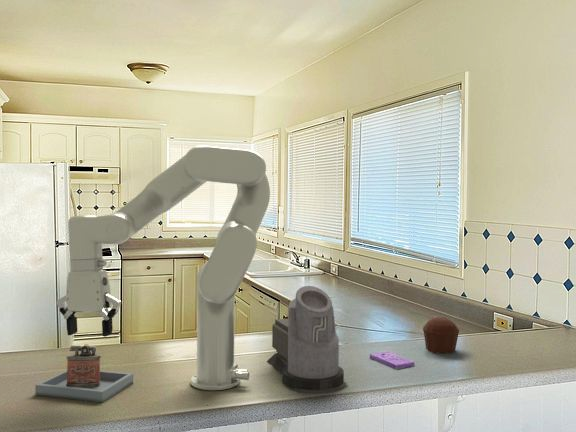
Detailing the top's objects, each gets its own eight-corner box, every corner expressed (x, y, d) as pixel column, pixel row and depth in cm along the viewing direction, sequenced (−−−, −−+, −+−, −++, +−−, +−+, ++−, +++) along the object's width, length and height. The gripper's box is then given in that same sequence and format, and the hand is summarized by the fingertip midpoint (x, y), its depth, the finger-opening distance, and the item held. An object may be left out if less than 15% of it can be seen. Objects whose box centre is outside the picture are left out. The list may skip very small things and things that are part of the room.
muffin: (424, 343, 187) (424, 313, 186) (459, 346, 183) (459, 316, 183) (420, 353, 175) (421, 321, 175) (458, 356, 172) (458, 324, 171)
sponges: (387, 356, 173) (387, 350, 173) (415, 367, 162) (415, 361, 162) (368, 359, 169) (368, 353, 169) (396, 371, 158) (396, 364, 158)
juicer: (357, 389, 141) (358, 292, 141) (297, 397, 136) (298, 296, 135) (310, 357, 170) (311, 276, 169) (259, 362, 164) (260, 278, 163)
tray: (133, 383, 144) (133, 373, 144) (102, 402, 131) (102, 391, 130) (71, 377, 148) (71, 367, 148) (35, 395, 135) (35, 384, 135)
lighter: (101, 383, 142) (102, 343, 142) (98, 387, 139) (99, 346, 139) (67, 384, 141) (68, 343, 141) (64, 387, 138) (65, 346, 138)
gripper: (126, 263, 140) (129, 331, 141) (65, 263, 144) (68, 329, 145) (109, 267, 133) (113, 339, 133) (45, 267, 137) (49, 337, 138)
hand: (89, 334), depth 139 cm, fingers open, 9 cm apart
